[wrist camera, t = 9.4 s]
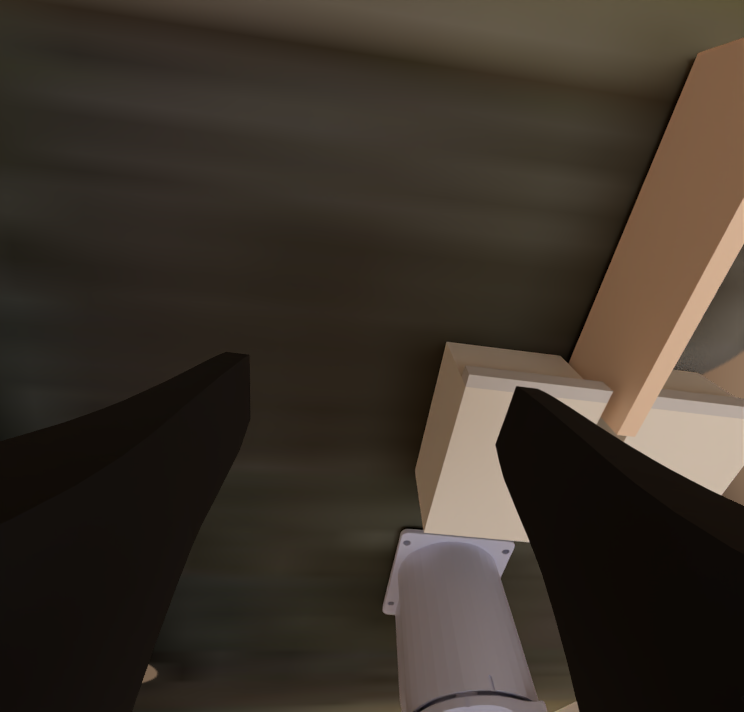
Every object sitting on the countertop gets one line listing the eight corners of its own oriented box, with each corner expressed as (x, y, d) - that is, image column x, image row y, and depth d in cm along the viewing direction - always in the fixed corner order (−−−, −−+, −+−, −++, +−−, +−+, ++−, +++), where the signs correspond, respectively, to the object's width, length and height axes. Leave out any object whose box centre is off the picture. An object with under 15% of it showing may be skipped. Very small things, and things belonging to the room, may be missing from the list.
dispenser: (626, 492, 25) (675, 555, 21) (414, 470, 24) (423, 532, 20) (703, 363, 20) (784, 411, 16) (449, 331, 20) (469, 374, 16)
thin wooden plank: (577, 377, 20) (634, 436, 16) (563, 375, 20) (616, 435, 16) (718, 56, 14) (876, 7, 10) (697, 53, 14) (847, 1, 10)
